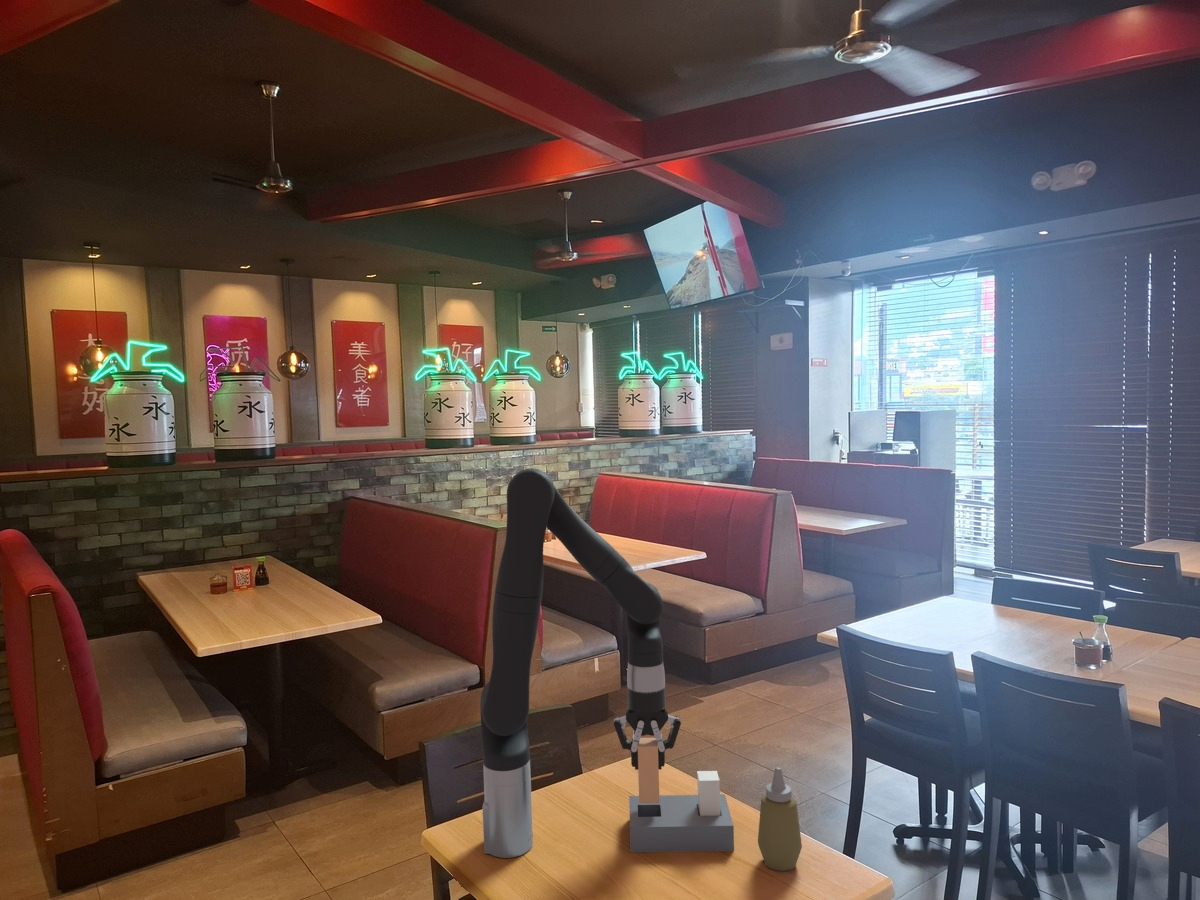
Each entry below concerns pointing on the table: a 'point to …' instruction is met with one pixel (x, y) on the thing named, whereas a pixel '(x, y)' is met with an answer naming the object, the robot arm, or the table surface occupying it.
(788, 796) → the squeeze bottle
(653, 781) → the terracotta plug
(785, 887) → the table surface
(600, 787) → the table surface
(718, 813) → the offwhite plug
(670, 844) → the block
